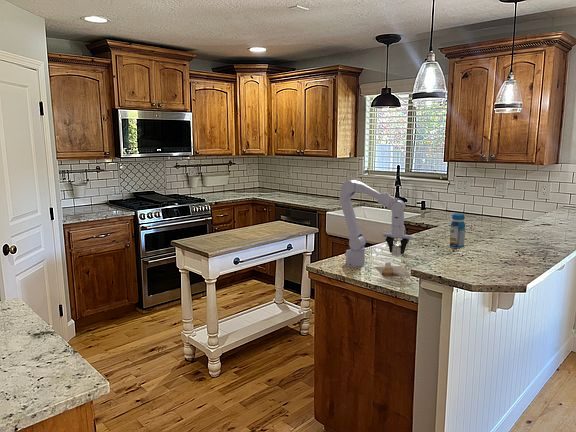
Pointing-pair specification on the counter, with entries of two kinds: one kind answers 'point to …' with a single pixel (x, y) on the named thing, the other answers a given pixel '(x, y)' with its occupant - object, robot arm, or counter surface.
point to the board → (397, 271)
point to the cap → (396, 250)
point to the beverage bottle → (457, 231)
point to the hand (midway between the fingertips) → (396, 252)
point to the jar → (387, 269)
